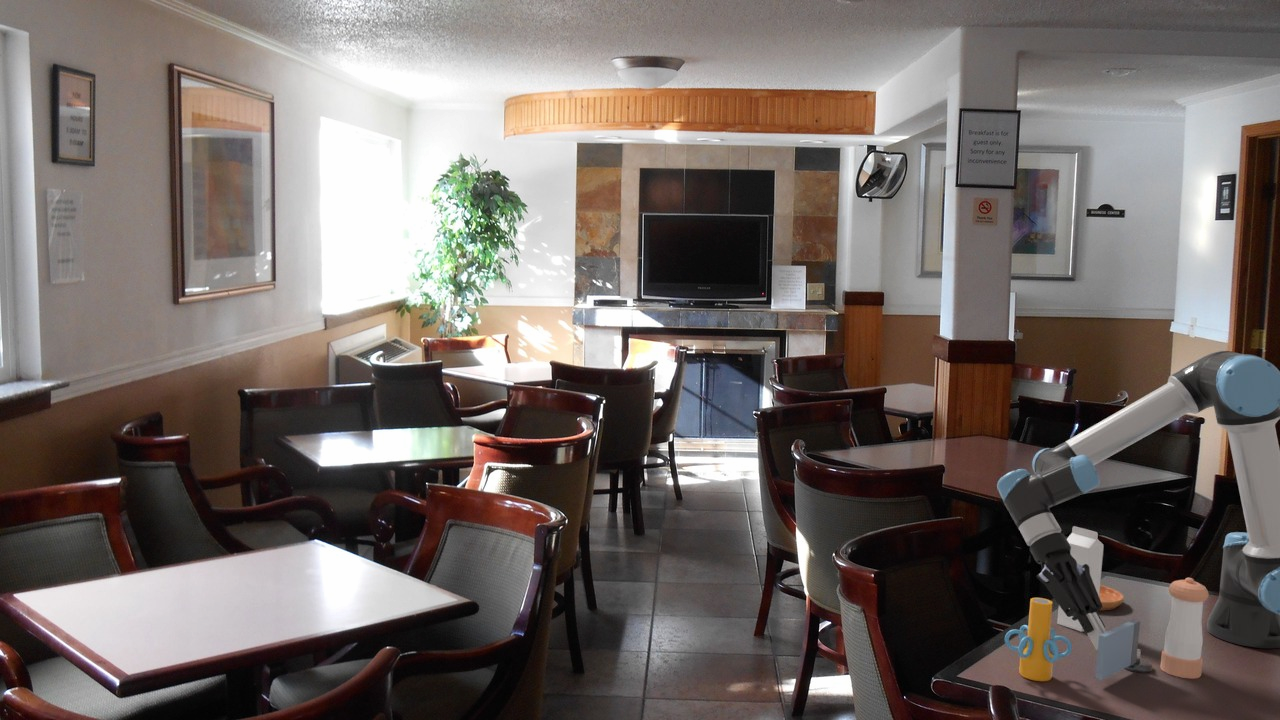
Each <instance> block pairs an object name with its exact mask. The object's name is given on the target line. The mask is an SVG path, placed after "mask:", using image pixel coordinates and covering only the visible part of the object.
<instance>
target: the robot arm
mask: <svg viewBox="0 0 1280 720" xmlns="http://www.w3.org/2000/svg"><path fill="white" fill-rule="evenodd" d="M1212 407H1213V409H1214V413H1215V418H1216V419H1215V420H1216V423H1217V425H1218V426H1219V427H1221V428H1223V429H1224V430H1225V431H1226V432H1227V437H1228V442H1229V446H1230V451H1231V456H1232V461H1233V467H1234V471H1235V476H1236V482H1237V486H1238V492H1239V496H1240V502H1241V507H1242V513H1243V517H1244V521H1245V522H1244V523H1245V526H1246V528H1245V529H1246V532H1243V531H1242V532H1239V531H1235V532H1230V533H1227V534H1226V535H1225V538H1224V543H1223V546H1222V549H1223V551H1222V561H1221V562H1222V563H1221V571H1220V581H1219V583H1220V584H1219V592H1218V593H1219V594H1218V598H1217V600H1216V602H1215V603H1214V606H1213V608H1212V609H1211V612H1210V614H1209V616H1208V618H1207V622H1206V630H1207V632H1208V633H1209V634H1210V635H1212V636H1214V637H1215V638H1217V639H1221V640H1223V641H1226V642H1228V643H1231V644H1234V645H1235V644H1236V645H1239V646H1244V647H1250V648H1255V649H1256V648H1258V649H1279V648H1280V445H1279V439H1278V435H1277V429H1276V424H1277V423H1278V421H1279V420H1280V370H1279V369H1278V367H1276V366H1275V364H1273V363H1272V362H1269V360H1266V359H1264V358H1263V357H1261V356H1257V355H1254V354H1247V353H1246V354H1243V353H1239V352H1236V351H1231V350H1220V351H1216V352H1211V353H1209V354H1207V355H1205V356H1203V357H1201V358H1199V359H1197V360H1196V361H1193V362H1192V363H1190V364H1189V365H1187V366H1185V367H1183V368H1182V369H1180V370H1179V371H1176V372H1175V373H1173V374H1171V375H1169V376H1168V379H1167V382H1166V383H1165V384H1163V385H1162V386H1160V387H1158V388H1157V389H1155V390H1153V391H1151V392H1149V393H1148V394H1145V396H1143V397H1140V398H1139V399H1137V400H1136V401H1134V402H1132V403H1130V404H1128V405H1127V406H1126V407H1125V406H1124V407H1123V408H1122V409H1120V410H1118V411H1116V412H1115V413H1113V414H1111V415H1109V416H1108V417H1106V418H1104V419H1102V420H1101V421H1099V422H1098V423H1095V424H1093V425H1092V426H1090V427H1088V428H1087V429H1085V430H1083V431H1082V432H1079V433H1078V434H1077V435H1074V436H1073V437H1072V438H1069V439H1067V440H1065V442H1062V443H1060V444H1058V445H1057V446H1055V447H1052V448H1050V447H1046V448H1042V449H1040V450H1039V451H1037V452H1036V453H1035V455H1034V456H1033V459H1032V466H1031V467H1032V470H1033V472H1034V474H1031V473H1030V471H1029V470H1027V469H1025V468H1018V469H1016V470H1012V471H1009V472H1007V473H1006V474H1004V475H1003V476H1001V477H1000V478H999V480H998V481H997V483H996V488H997V492H998V493H999V495H1000V497H1001V499H1002V501H1003V504H1004V506H1005V507H1006V509H1007V511H1008V512H1009V514H1010V516H1011V518H1012V520H1013V521H1014V524H1015V525H1016V527H1017V529H1018V531H1020V534H1021V536H1022V538H1023V539H1024V541H1025V543H1026V545H1027V546H1028V547H1029V552H1031V555H1032V557H1033V559H1034V561H1035V562H1036V563H1037V564H1038V565H1041V572H1040V573H1038V574H1037V575H1036V578H1037V580H1039V582H1041V583H1042V584H1043V585H1044V586H1045V588H1046V589H1047V590H1048V592H1049V594H1050V595H1051V596H1052V597H1053V599H1054V600H1055V601H1056V603H1057V605H1058V607H1059V606H1060V607H1061V608H1062V610H1063V611H1064V613H1065V614H1066V615H1067V616H1068V617H1071V616H1073V618H1072V619H1073V620H1074V621H1076V620H1077V619H1078V621H1079V622H1080V624H1081V626H1082V628H1083V630H1084V631H1083V632H1085V633H1086V634H1087V636H1088V638H1089V640H1090V641H1091V643H1092V645H1093V647H1094V648H1095V651H1098V642H1099V635H1100V634H1102V633H1105V632H1107V631H1108V630H1106V626H1105V624H1104V622H1103V620H1102V618H1101V616H1100V615H1099V611H1101V610H1100V609H1101V608H1102V607H1103V606H1102V603H1101V601H1100V598H1099V596H1098V593H1097V591H1096V588H1095V586H1094V583H1093V581H1092V578H1091V576H1090V569H1089V566H1088V565H1087V564H1084V565H1083V566H1082V565H1080V564H1078V563H1077V562H1076V560H1075V559H1074V558H1073V557H1072V556H1071V554H1070V550H1071V546H1070V544H1069V543H1068V541H1067V538H1066V536H1065V534H1064V533H1062V528H1061V526H1060V524H1059V523H1058V521H1057V520H1056V518H1055V516H1054V514H1053V513H1052V511H1051V510H1050V508H1052V507H1055V506H1057V505H1059V504H1062V503H1064V502H1066V501H1069V500H1072V499H1074V498H1076V497H1080V495H1084V494H1088V492H1090V491H1092V490H1094V489H1096V488H1098V487H1099V486H1100V484H1101V478H1100V476H1099V473H1098V472H1097V469H1096V467H1095V465H1098V464H1099V463H1101V462H1102V461H1104V460H1106V459H1108V458H1110V457H1111V456H1113V455H1115V454H1117V453H1119V452H1121V451H1123V450H1124V449H1126V448H1127V447H1129V446H1131V445H1133V444H1135V443H1136V442H1138V441H1140V440H1142V439H1143V438H1145V437H1148V436H1149V435H1151V434H1153V433H1155V432H1156V431H1158V430H1161V429H1162V428H1164V427H1165V426H1167V425H1169V424H1171V423H1172V422H1174V421H1176V420H1178V419H1179V418H1181V417H1183V416H1186V415H1187V414H1190V413H1191V414H1195V415H1197V414H1199V413H1201V412H1203V411H1204V410H1206V409H1209V408H1212ZM1069 608H1070V609H1069Z"/></svg>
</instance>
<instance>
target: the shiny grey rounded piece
mask: <svg viewBox="0 0 1280 720" xmlns="http://www.w3.org/2000/svg"><path fill="white" fill-rule="evenodd" d="M1141 653H1142V652H1141V649H1140V648H1137V659H1136V663H1134V664H1132V665H1130V666H1128V667H1126V668H1124V669H1123V670H1127V671H1129V672H1134V673H1139V674H1147V673H1148V674H1149V673H1151V672H1153V665H1152V664H1151V663H1150V662H1149V661H1146V660H1144V659H1142V658H1141Z"/></svg>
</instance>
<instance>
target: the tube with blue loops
mask: <svg viewBox="0 0 1280 720" xmlns="http://www.w3.org/2000/svg"><path fill="white" fill-rule="evenodd" d="M1052 615H1053V601H1052V600H1050V599H1047V598H1043V597H1032V598H1030V601H1029V612H1028V625H1027V624H1023V625H1021V626H1020V628H1019V629H1016V628H1015V629H1010V630H1009V631H1007V632H1006V634H1005V636H1004V643H1005V645H1006V646H1007V648H1009V650H1012V651H1015V652H1018V655H1019V668H1018V672H1019V675H1020V676H1021V677H1023V678H1024V679H1027V680H1031V681H1035V682H1048V681H1050V680H1052V678H1053V668H1054V667H1053V665H1054V663H1055V662H1057V661H1058V658H1061V659H1062V658H1066V657H1068V656H1069V655H1070V654H1071V653H1072V650H1073V649H1072V648H1073V646H1072V642H1071V641H1070V640H1069V639H1068V638H1067V637H1065V636H1062V635H1057V634H1056V630H1054V629H1053V628H1051V625H1052V617H1053V616H1052ZM1025 630H1026V631H1027V633H1025ZM1014 634H1016V635H1017V634H1018V637H1019V643H1018V644H1019V645H1018V646H1015V645H1012V644H1011V643H1010V637H1011V636H1012V635H1014ZM1026 634H1027V635H1026ZM1050 637H1051V638H1050ZM1056 641H1063V642H1064V643H1065V644H1066V646H1067V649H1066V651H1065V652H1062V653H1060V652H1059V648H1058V645H1057V643H1056Z"/></svg>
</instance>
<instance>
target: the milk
mask: <svg viewBox="0 0 1280 720" xmlns="http://www.w3.org/2000/svg"><path fill="white" fill-rule="evenodd" d="M1071 529H1072V530H1071V533H1070V534H1069V536H1068V537H1067V538H1066V539H1067V541H1068V543H1069V544H1070V546H1071V550H1070V554H1071V556H1072V557H1073V558H1074V559H1075V560H1076V562H1077V563H1078V564H1080V565H1082V566H1083V565H1084V564H1087V565H1088V566H1089V569H1090V576H1091V578H1092V581H1093V583H1094V586H1095V588H1096V591H1097V593H1098V596H1099V591H1100V585H1101V579H1102V568H1103V567H1102V566H1103V557H1104V544H1103V543H1102V542H1101V541H1100V540H1099V539H1098V535H1099V534H1098V531H1094V530H1090V529H1087V528H1083V527H1078V526H1075V525H1074V526H1072V528H1071ZM1069 609H1070V608H1069ZM1072 618H1073V616H1071V617H1068V616H1067V615H1066V614H1065V613H1064V611H1063V610H1062V608H1061V607H1060V606H1059V605H1058V611H1057V625H1060V626H1063V627H1066V628H1069V629H1072V630H1075V631H1078V632H1081V633H1082V632H1083V633H1084V632H1085V631H1084V630H1083V628H1082V626H1081V624H1080V622H1079V621H1078V619H1077V620H1076V621H1074V620H1073V619H1072Z"/></svg>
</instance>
